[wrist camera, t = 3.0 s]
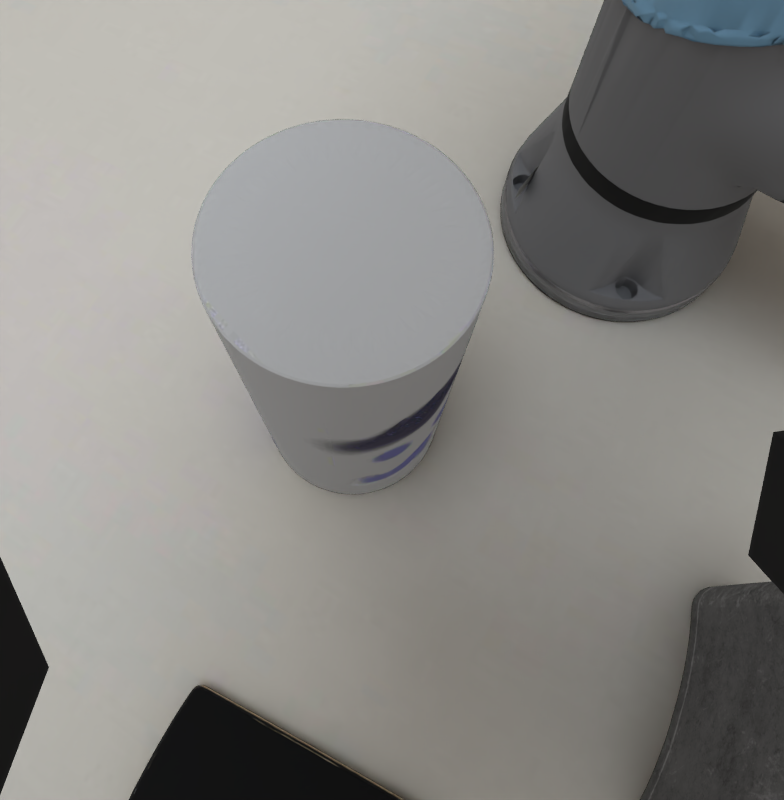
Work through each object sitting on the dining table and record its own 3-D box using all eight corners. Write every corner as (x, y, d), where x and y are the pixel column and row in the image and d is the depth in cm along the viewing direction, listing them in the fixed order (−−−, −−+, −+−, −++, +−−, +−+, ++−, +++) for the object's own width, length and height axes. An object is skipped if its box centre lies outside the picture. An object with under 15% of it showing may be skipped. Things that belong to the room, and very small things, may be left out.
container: (381, 527, 40) (395, 444, 21) (237, 438, 41) (126, 284, 22) (465, 387, 43) (547, 200, 23) (328, 308, 44) (300, 70, 25)
